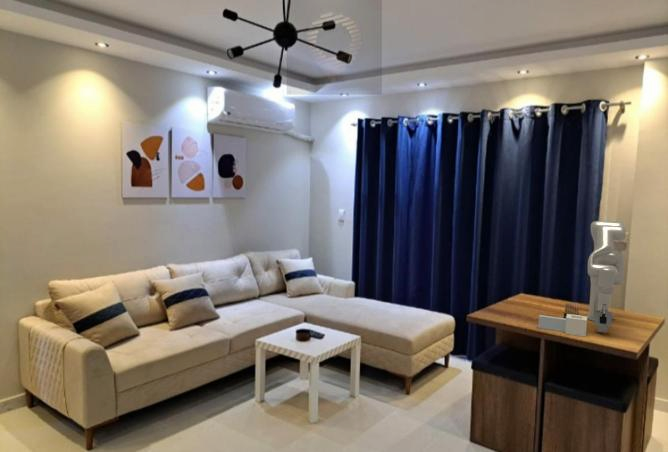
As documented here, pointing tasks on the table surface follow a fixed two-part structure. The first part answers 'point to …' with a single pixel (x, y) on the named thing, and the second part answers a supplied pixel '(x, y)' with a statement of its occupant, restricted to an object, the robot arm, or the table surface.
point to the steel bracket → (602, 326)
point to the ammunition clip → (570, 309)
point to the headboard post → (565, 324)
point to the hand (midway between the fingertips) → (602, 322)
